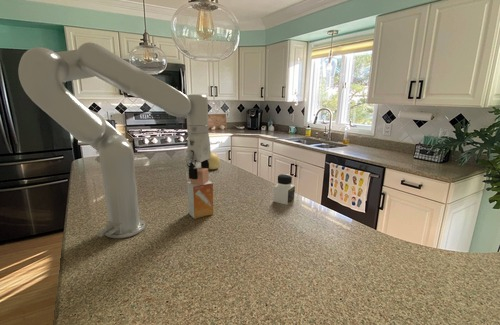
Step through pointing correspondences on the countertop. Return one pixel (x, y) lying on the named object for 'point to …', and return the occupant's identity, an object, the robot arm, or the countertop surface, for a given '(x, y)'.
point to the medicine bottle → (284, 190)
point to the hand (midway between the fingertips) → (199, 175)
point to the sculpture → (214, 161)
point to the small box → (200, 199)
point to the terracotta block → (201, 176)
